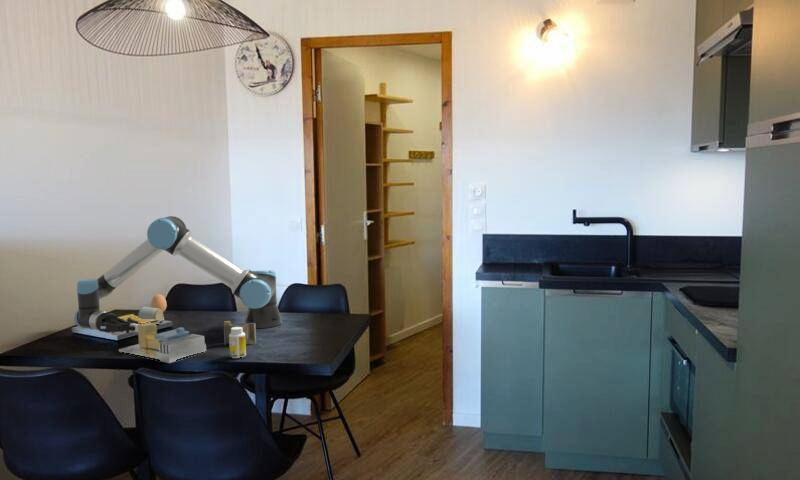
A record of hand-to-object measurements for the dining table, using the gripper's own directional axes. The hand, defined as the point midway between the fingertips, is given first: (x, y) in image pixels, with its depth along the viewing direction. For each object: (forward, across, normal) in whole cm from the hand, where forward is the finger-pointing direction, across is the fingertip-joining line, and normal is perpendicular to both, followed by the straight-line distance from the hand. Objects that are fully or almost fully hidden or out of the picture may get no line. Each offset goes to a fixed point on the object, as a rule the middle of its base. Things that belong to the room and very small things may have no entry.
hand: (142, 329), depth 242 cm
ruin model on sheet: (+26, -23, -8) cm, 36 cm away
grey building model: (+10, 0, -7) cm, 13 cm away
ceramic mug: (-31, -27, -8) cm, 42 cm away
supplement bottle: (+39, -10, -8) cm, 41 cm away
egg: (-46, -42, -8) cm, 63 cm away
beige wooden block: (+6, 0, -6) cm, 8 cm away
